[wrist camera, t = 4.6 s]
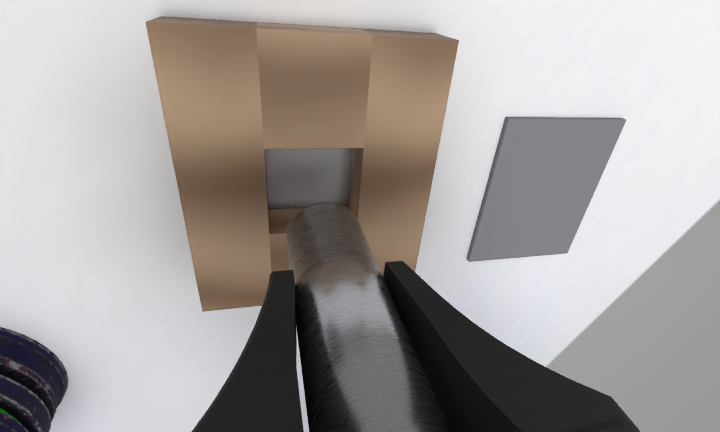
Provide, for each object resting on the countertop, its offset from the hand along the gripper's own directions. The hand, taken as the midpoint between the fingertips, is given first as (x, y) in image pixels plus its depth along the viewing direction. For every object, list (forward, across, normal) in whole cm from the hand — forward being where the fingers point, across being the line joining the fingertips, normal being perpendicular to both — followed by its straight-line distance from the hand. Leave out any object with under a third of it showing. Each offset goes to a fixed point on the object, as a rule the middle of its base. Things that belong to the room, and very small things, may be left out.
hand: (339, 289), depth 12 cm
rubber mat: (+9, -15, +2) cm, 18 cm away
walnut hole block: (+9, 0, 0) cm, 9 cm away
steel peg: (+3, 0, 0) cm, 3 cm away
